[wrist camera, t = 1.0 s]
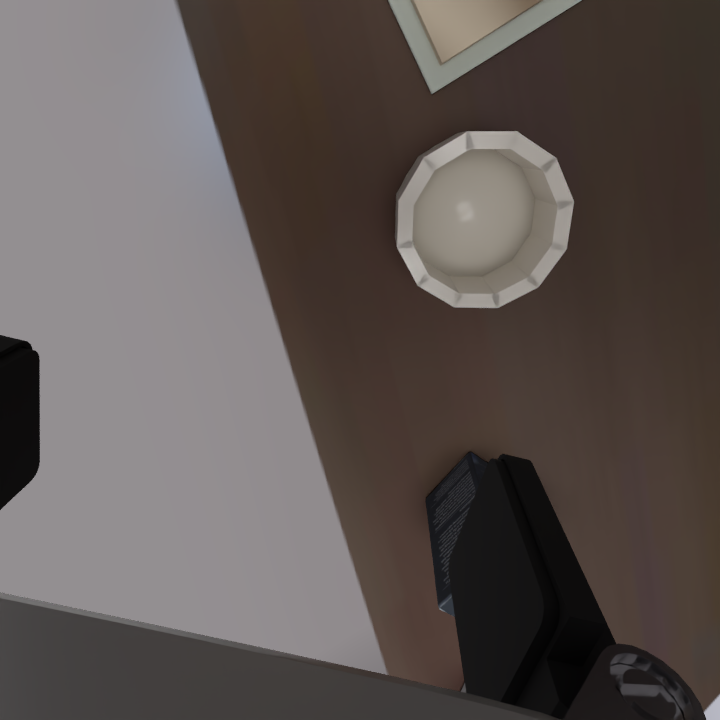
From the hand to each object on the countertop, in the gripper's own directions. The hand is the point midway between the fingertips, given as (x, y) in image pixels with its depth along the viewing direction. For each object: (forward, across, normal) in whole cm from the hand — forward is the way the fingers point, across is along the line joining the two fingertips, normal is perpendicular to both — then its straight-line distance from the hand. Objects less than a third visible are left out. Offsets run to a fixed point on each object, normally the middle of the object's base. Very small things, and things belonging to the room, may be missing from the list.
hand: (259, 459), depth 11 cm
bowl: (+24, -7, -4) cm, 25 cm away
